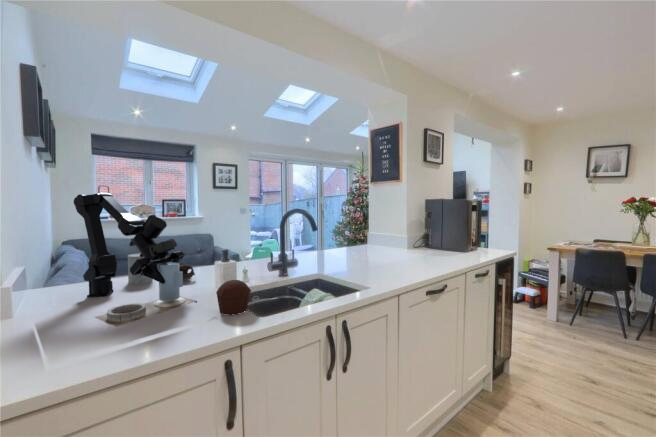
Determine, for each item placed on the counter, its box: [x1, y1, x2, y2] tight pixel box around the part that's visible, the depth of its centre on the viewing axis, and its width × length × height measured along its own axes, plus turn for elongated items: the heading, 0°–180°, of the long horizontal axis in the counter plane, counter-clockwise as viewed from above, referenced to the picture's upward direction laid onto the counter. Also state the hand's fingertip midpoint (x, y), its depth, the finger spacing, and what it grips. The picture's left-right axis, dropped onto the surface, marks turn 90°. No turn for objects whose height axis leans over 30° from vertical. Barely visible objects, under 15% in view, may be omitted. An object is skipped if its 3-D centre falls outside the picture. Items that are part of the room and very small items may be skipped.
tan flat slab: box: [94, 295, 198, 327], centre depth 100 cm, size 26×13×3 cm, turn 150°
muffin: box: [215, 279, 252, 316], centre depth 102 cm, size 12×11×10 cm
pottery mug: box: [179, 264, 196, 282], centre depth 139 cm, size 12×10×8 cm
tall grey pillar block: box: [127, 252, 154, 285], centre depth 137 cm, size 10×10×12 cm
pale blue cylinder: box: [158, 262, 184, 301], centre depth 106 cm, size 9×6×12 cm
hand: (172, 280), depth 106 cm, fingers closed on pale blue cylinder, 6 cm apart
